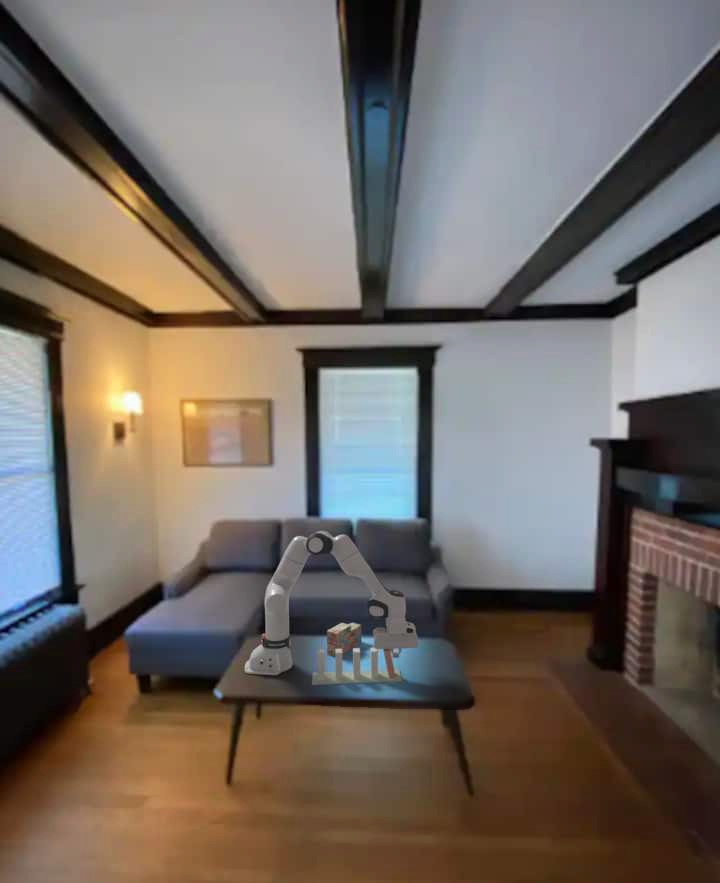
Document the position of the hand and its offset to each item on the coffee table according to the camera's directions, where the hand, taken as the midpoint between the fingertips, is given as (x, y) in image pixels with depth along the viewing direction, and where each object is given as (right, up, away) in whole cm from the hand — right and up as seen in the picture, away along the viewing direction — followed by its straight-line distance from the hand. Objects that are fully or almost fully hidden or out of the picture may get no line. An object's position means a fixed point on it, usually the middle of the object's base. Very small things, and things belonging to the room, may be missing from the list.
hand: (395, 657), depth 217 cm
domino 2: (-26, -8, -1) cm, 27 cm away
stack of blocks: (-24, -9, +29) cm, 39 cm away
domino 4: (-10, -8, 0) cm, 13 cm away
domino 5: (-2, -8, 0) cm, 8 cm away
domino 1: (-34, -8, -2) cm, 35 cm away
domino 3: (-18, -8, -1) cm, 20 cm away
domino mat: (-18, -9, -1) cm, 20 cm away
